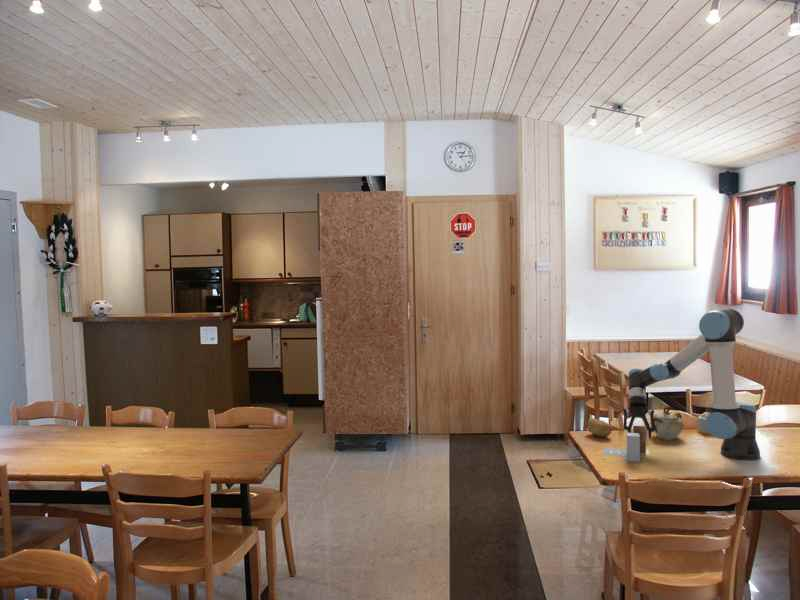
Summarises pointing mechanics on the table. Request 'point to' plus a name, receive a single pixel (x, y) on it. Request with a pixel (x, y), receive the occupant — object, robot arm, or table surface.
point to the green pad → (646, 453)
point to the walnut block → (641, 437)
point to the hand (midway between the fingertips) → (639, 443)
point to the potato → (599, 427)
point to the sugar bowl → (668, 425)
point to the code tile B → (632, 461)
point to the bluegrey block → (633, 447)
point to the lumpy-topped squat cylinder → (703, 423)
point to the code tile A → (614, 451)
